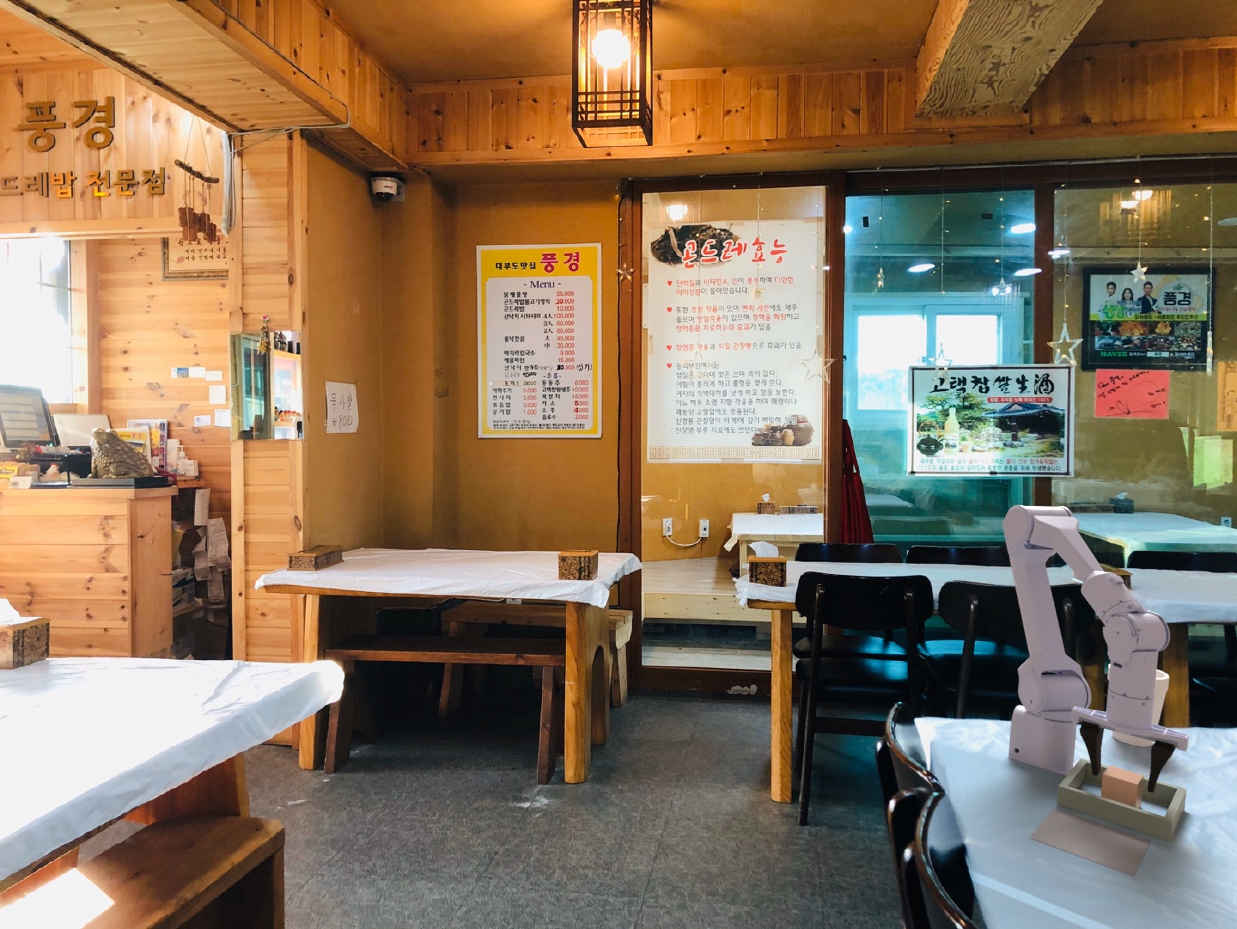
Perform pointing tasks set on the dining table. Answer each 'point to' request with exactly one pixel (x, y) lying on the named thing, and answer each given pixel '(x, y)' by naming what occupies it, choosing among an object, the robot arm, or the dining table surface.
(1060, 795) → the olive bin
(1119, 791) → the clay block
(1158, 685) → the foam cup
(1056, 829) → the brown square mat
